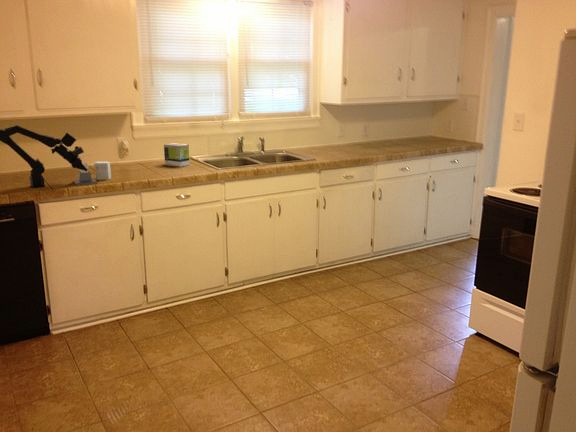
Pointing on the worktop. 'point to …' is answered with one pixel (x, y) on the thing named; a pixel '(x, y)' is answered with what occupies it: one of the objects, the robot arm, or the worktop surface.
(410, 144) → the worktop surface
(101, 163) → the small box
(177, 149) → the tea box
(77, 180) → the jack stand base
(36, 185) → the robot arm
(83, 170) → the white tall block
